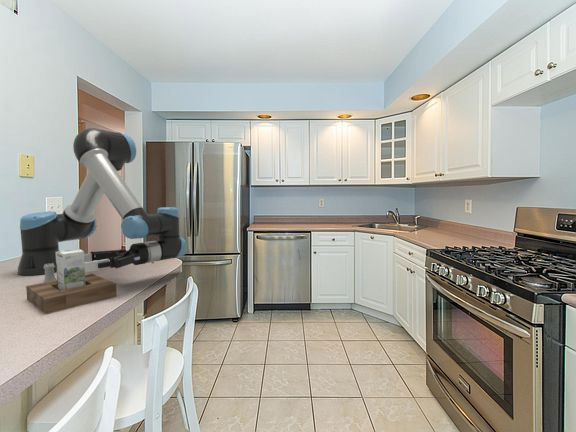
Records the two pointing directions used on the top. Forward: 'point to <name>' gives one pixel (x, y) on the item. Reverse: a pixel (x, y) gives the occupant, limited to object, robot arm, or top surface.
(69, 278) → the syrup box
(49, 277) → the rook chess piece
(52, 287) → the socket block
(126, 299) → the top surface
